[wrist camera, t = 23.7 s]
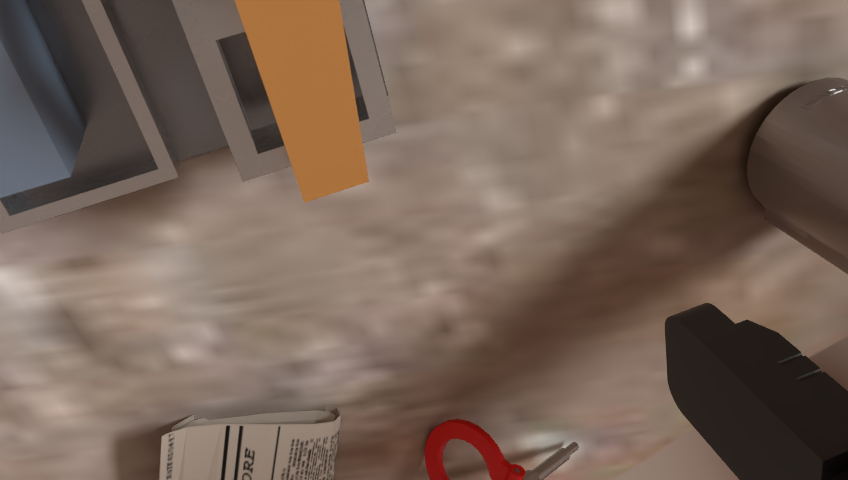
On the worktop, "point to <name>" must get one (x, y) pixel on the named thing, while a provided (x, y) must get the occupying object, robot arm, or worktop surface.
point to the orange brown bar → (309, 89)
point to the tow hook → (485, 453)
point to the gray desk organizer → (171, 95)
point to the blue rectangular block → (33, 107)
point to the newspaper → (253, 447)
